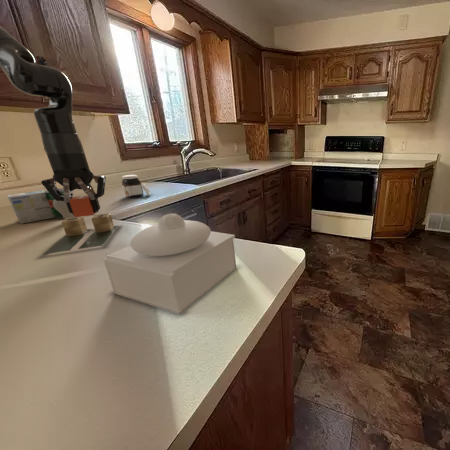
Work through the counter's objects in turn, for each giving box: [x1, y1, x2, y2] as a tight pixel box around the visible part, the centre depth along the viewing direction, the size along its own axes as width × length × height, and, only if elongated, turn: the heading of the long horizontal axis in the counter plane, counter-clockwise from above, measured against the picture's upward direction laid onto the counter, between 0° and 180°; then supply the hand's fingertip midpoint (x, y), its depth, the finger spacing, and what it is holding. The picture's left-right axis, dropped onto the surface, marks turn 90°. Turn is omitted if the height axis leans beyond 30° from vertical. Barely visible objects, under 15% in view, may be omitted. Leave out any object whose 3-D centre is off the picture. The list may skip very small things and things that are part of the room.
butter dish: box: [103, 213, 237, 315], centre depth 52 cm, size 18×18×16 cm
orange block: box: [69, 195, 97, 217], centre depth 70 cm, size 4×4×5 cm
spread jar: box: [121, 174, 152, 199], centre depth 134 cm, size 12×11×12 cm
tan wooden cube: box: [61, 216, 88, 237], centre depth 80 cm, size 4×4×5 cm
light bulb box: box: [6, 189, 55, 225], centre depth 97 cm, size 11×7×11 cm, turn 143°
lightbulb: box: [53, 199, 75, 220], centre depth 91 cm, size 6×6×11 cm
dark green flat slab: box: [43, 225, 118, 255], centre depth 77 cm, size 14×20×1 cm
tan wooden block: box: [91, 213, 115, 233], centre depth 82 cm, size 4×4×5 cm
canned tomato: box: [44, 187, 64, 219], centre depth 101 cm, size 8×8×11 cm
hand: (86, 212), depth 71 cm, fingers closed on orange block, 4 cm apart
